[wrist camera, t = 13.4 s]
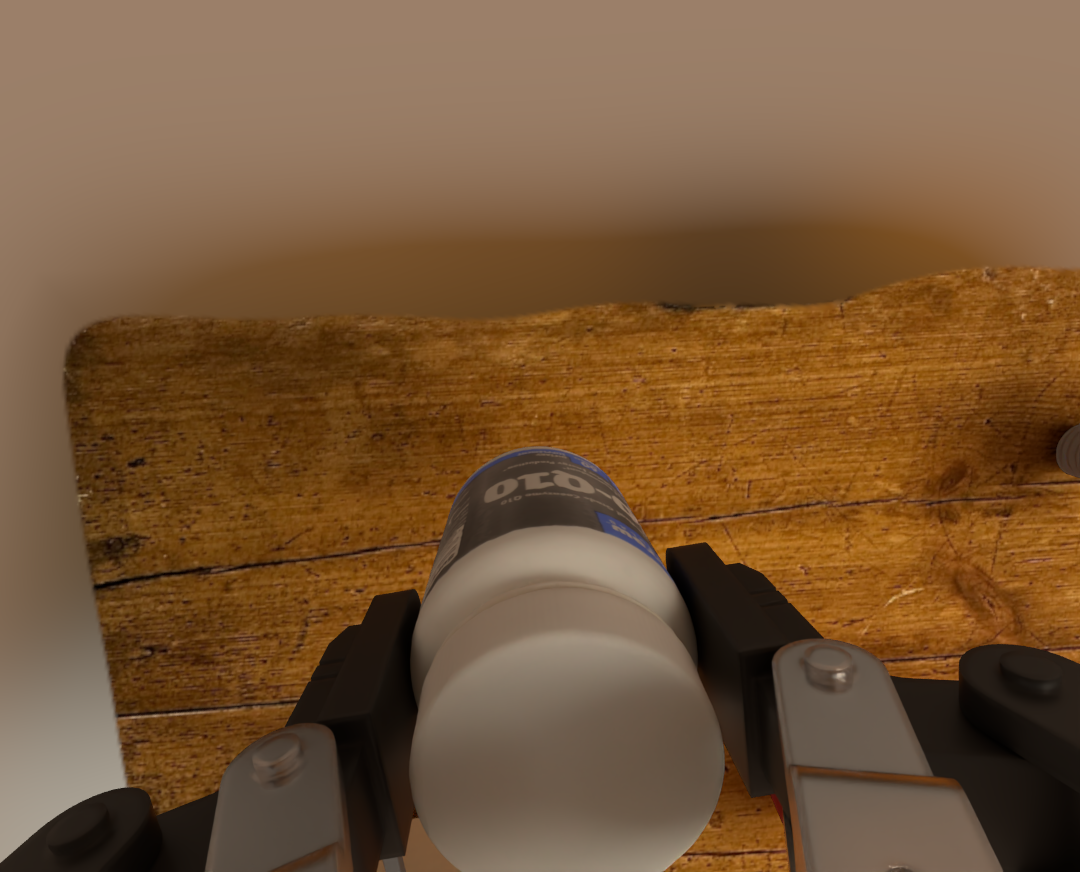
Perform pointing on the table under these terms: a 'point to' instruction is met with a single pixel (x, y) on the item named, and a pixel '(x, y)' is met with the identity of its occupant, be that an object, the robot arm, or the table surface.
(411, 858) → the storage drawer
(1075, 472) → the light bulb
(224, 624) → the table surface
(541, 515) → the pill bottle
